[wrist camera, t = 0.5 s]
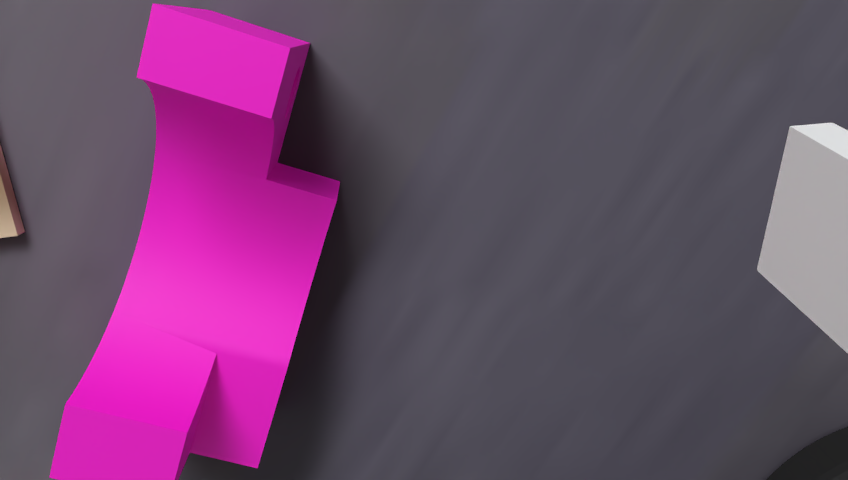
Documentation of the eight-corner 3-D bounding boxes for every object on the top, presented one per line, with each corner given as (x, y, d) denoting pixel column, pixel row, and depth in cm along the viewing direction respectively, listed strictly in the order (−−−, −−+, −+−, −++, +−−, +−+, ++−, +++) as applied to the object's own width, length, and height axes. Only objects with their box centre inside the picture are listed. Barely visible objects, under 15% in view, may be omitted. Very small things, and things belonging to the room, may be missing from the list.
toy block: (272, 407, 31) (244, 520, 24) (124, 371, 30) (49, 477, 23) (375, 64, 28) (377, 76, 20) (210, 10, 27) (152, 3, 20)
